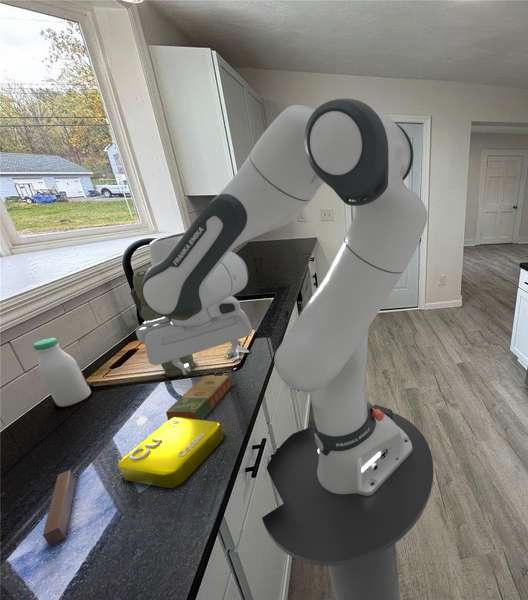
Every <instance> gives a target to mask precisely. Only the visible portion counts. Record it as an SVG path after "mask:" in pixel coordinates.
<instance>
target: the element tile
mask: <svg viewBox="0 0 528 600" xmlns="http://www.w3.org/2000/svg"><path fill="white" fill-rule="evenodd" d="M223 439H224V433H223V431H222V427H221V425H220V423H219V422H218V421H211V420H206V419H203V420H198V419H190V418H182V417H176V418H172V419H170V420H168V419H167V421H166V422H164V423H162V425H160V427H158V428H157V429H156V430H155V431H153V432H152V433H151V434H150V435H148V437H146V438H145V439H144V440H142V441H141V442H140V443H139V444H137V445H136V446H135V447H134V448H133V449H131V450H130V451H129V452H128V453H127V454H126V455H124V456H123V457H122V458H120V460H119V461H118V463H117V467H118V469H119V471H120V473H121V475H122V477H123V478H124V480H125V481H127V482H134V483H139V484H144V485H150V486H155V487H161V488H166V489H173V488H176V487H179V486H180V485H182V484H183V483H184V482H185V481H186V480H188V478H189V477H190V476H191V475H192V474H193V473H194V472H195V471H196V470H197V468H199V466H200V465H201V464H202V463H203V462H204V461H205V460H206V459H207V458H208V456H209V455H211V453H212V452H213V451H214V450H215V449H216V448H217V447H218V446H219V445H220V443H221V442H222V441H223Z"/></svg>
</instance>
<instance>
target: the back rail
mask: <svg viewBox="0 0 528 600" xmlns="http://www.w3.org/2000/svg"><path fill="white" fill-rule="evenodd" d="M76 483H77V478H76V476H75V474H74V473H73V471H72V469H68V470H66V471H64V472H61V473H58V474H57V476H56V481H55V484H54V489H53V492H52V497H51V501H50V504H49V508H48V513H47V517H46V521H45V524H44V528H43V533H42V537H43V539H44V540H45V541H46V542H47V544H48V545H49V546H50V547H52V546H54V545H55V544H57V543H60V542H61V541H63V540H66V539H67V533H68V527H69V522H70V516H71V511H72V506H73V501H74V495H75V491H76V490H75V489H76Z"/></svg>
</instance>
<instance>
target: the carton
mask: <svg viewBox="0 0 528 600" xmlns="http://www.w3.org/2000/svg"><path fill="white" fill-rule="evenodd" d="M232 386H233V385H232V381H231V380H230V376H229V375H203V376H202V377H201V378H200V379H198V381H197V382H195V384H193V386H192V387H190V388H189V389H188V390H187V391H186V392H185V393H184V394H183V395H182V396H181V397H180V398H179V399H178V400H177V401H176V402H175V403H173V405H171V407H169V408H168V409H167V410H166V412H165V414H166V418H167V421H168V420H170V419H172V418H176V417H182V418H190V419H198V420H205V418H206V417H207V415H208V414H209V413H210V412H211V411H212V410H213V409H214V407H215V406H216V405H217V404H218V402H219V401H220V400H221V399H222V398H223V397H224V395H226V394H227V392H228V391H229V390H230V389H231V387H232Z"/></svg>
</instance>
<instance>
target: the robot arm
mask: <svg viewBox="0 0 528 600" xmlns="http://www.w3.org/2000/svg"><path fill="white" fill-rule="evenodd" d="M413 164H414V147H413V144H412V140H411V139H410V136H409V134H408V133H407V132H406V130H405V129H404V128H403V127H402V126H401V125H400V124H398V123H396V122H395V121H394V120H393V118H392V117H390V116H389V115H388V114H387V113H385V112H384V111H382V110H380V109H378V108H375V107H373V106H370V105H368V104H367V103H365V102H363V101H361V100H358V99H353V98H336V99H332V100H331V99H330V100H329V101H328V100H327V101H326V102H325V103H322V104H321V105H319V106H318V107H317V108H315V109H314V108H312V107H310V106H307V105H304V104H293V105H289V106H288V107H286V108H285V109H284V110H282V111H281V112H280V113H279V114H278V115H277V116H276V118H275V119H273V121H272V122H271V123H270V124H269V125H268V127H267V128H266V130H265V131H263V133H262V135H261V136H260V137H259V139H258V140H257V141H256V143H255V145H254V146H253V148H252V149H251V151H250V153H249V154H248V156H247V158H246V159H245V161H244V162H243V163H242V165H241V166H240V168H239V170H238V171H237V172H236V173H235V174H234V176H233V177H232V178H231V180H230V181H229V182H228V183H227V185H225V187H224V188H223V189H222V190H221V191H220V192H219V193H218V194H217V195H216V196H215V197H214V198H213V199H212V200H211V201H210V202H209V203H208V204H207V205H205V207H204V208H203V209H202V210H201V212H200V213H199V214H198V216H196V218H195V219H194V220H193V222H192V223H191V224H190V226H189V227H188V228H187V230H186V231H185V232H181V233H175V234H171V235H168V236H167V235H166V236H162V237H157V238H156V239H153V240H152V241H151V242H149V248H148V250H149V258H150V259H149V260H150V263H151V266H150V267H149V268H148V269H146V270H147V272H146V274H145V276H144V279H143V283H142V296H143V299H144V301H145V303H146V304H147V306H148V307H149V308H150V309H151V310H152V311H153V312H155V313H157V314H159V315H161V316H163V318H159V319H157V320H154V321H147V322H145V321H144V322H142V324H140V325H139V326H138V327H137V328H136V329H135V335H136V337H137V340H138V341H139V342H140V343H142V344H144V347H145V352H146V353H145V354H146V356H147V360H148V362H149V364H151V365H153V366H159V365H161V364H163V363H166V362H169V361H172V363H173V365H175V366H176V367H178V368H180V369H182V372H183V374H182V375H183V376H186V375H188V374H191V373H192V370H190V367H189V364H188V363H187V364H182V363H181V362H180V358H181V357H184V356H187V355H191V354H192V355H194V354H197V353H200V352H202V351H206V350H209V349H212V348H215V347H218V346H221V345H222V346H223V345H225V344H228V343H230V344H231V345H230V348H229V349H227V350H226V353H227V355H228V356H229V357H228V358H229V359H230V360H231V359H234V358H235V357H237V356H236V352H235V351H236V348H237V346H238V343H239V340H240V339H244V338H247V337H249V336H251V334H252V333H253V327H252V325H251V322H250V319H249V317H248V314H246V312H245V311H244V310H243V309H242V308H241V304H240V302H239V300H238V299H237V298H236V297H234V295H236V294H238V293H240V292H241V291H243V290H244V289H245V288H246V287H247V286H248V283H249V270H248V267H247V265H246V263H245V261H244V259H242V257H241V256H240V255H239V254H237V253H236V252H234V251H233V250H234V249H236V248H237V247H238V246H240V245H242V244H244V243H245V242H248V241H249V240H251V239H254V238H256V237H260V236H261V235H264V234H266V233H269V232H271V231H274V230H277V229H279V228H282V227H284V226H286V225H288V224H289V223H291V222H292V221H293V220H294V219H295V218H296V217H298V216H299V215H300V214H301V213H302V212H303V211H304V210H305V209H306V207H307V206H308V205H309V204H310V203H311V201H312V200H313V199H314V198H315V196H316V194H318V192H319V190H320V189H321V187H322V186H324V185H325V184H326V185H327V186H328V187H330V188H331V189H332V190H333V191H334V192H335V194H336V195H337V196H338V197H339V199H340V200H341V201H342V202H343V203H344V204H345V205H348V206H352V207H355V211H354V216H353V219H352V220H351V223H350V225H349V227H348V229H347V230H346V233H345V235H344V237H343V239H342V241H341V243H340V245H339V247H338V249H337V252H336V254H335V256H334V257H333V259H332V262H331V264H330V266H329V268H328V270H327V272H326V274H325V276H324V278H323V279H322V280H321V282H320V284H319V285H318V287H317V288H316V289H315V291H314V293H313V294H312V295H311V296H310V298H309V300H308V301H307V303H306V304H305V306H304V307H303V309H302V311H301V313H300V314H299V315H298V316H297V319H296V320H295V322H294V324H293V325H292V327H291V329H290V330H289V332H288V333H287V335H286V336H285V337H284V339H283V340H282V341H281V343H280V345H279V346H278V348H277V349H276V351H275V353H274V358H273V359H274V360H273V363H274V367H275V370H276V372H277V375H278V377H279V379H280V380H282V381H283V383H285V384H286V385H287V386H288V387H290V388H291V389H294V390H295V391H299V392H303V393H309V398H310V404H311V407H312V413H313V420H314V431H315V439H316V443H317V446H318V448H319V449H318V453H319V463H318V468H317V477H318V480H319V482H320V484H321V485H322V486H323V487H324V488H325V489H326V490H328V491H330V492H332V493H336V494H352V493H358V494H361V495H365V496H370V495H372V494H373V493H374V492H375V491H376V490H377V489H378V488H379V487H380V486H381V485H382V484H383V483H384V482H385V481H386V479H387V478H388V477H389V476H390V475H391V474H392V473H393V472H394V471H395V470H396V469H397V468H398V467H399V465H400V464H401V463H402V462H403V461H404V460H405V459H406V458H407V457H408V456H409V455H410V454H411V452H412V451H413V449H412V444H411V441H410V439H409V437H408V436H407V435H406V433H405V432H404V431H403V430H402V429H401V428H399V427H398V426H397V425H396V424H395V423H394V422H393V420H392V419H393V413H394V412H393V409H390V408H387V407H384V406H381V405H378V404H374V405H373V404H372V403H371V402H369V401H368V400H367V393H366V369H367V359H368V343H369V342H368V340H369V333H370V326H371V324H372V323H373V321H374V320H375V318H376V317H377V315H378V313H380V311H381V309H382V308H383V306H384V305H385V303H386V301H387V300H388V298H389V296H390V295H391V293H392V292H393V290H394V288H395V287H396V285H397V284H398V282H399V280H400V279H401V277H402V275H403V274H404V272H405V270H406V269H407V267H408V265H409V263H410V262H411V260H412V258H413V257H414V254H415V252H416V250H417V249H418V245H419V243H420V242H421V239H422V236H423V234H424V231H425V228H426V225H427V222H428V209H427V207H426V205H425V203H424V201H423V199H421V198H420V196H419V195H418V194H417V193H416V192H415V191H413V190H412V189H410V188H408V186H407V185H406V184H405V183H404V181H405V180H406V178H407V177H408V176H409V174H410V173H411V170H412V168H413ZM170 321H171V322H170ZM372 484H374V485H373V486H372Z"/></svg>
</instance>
